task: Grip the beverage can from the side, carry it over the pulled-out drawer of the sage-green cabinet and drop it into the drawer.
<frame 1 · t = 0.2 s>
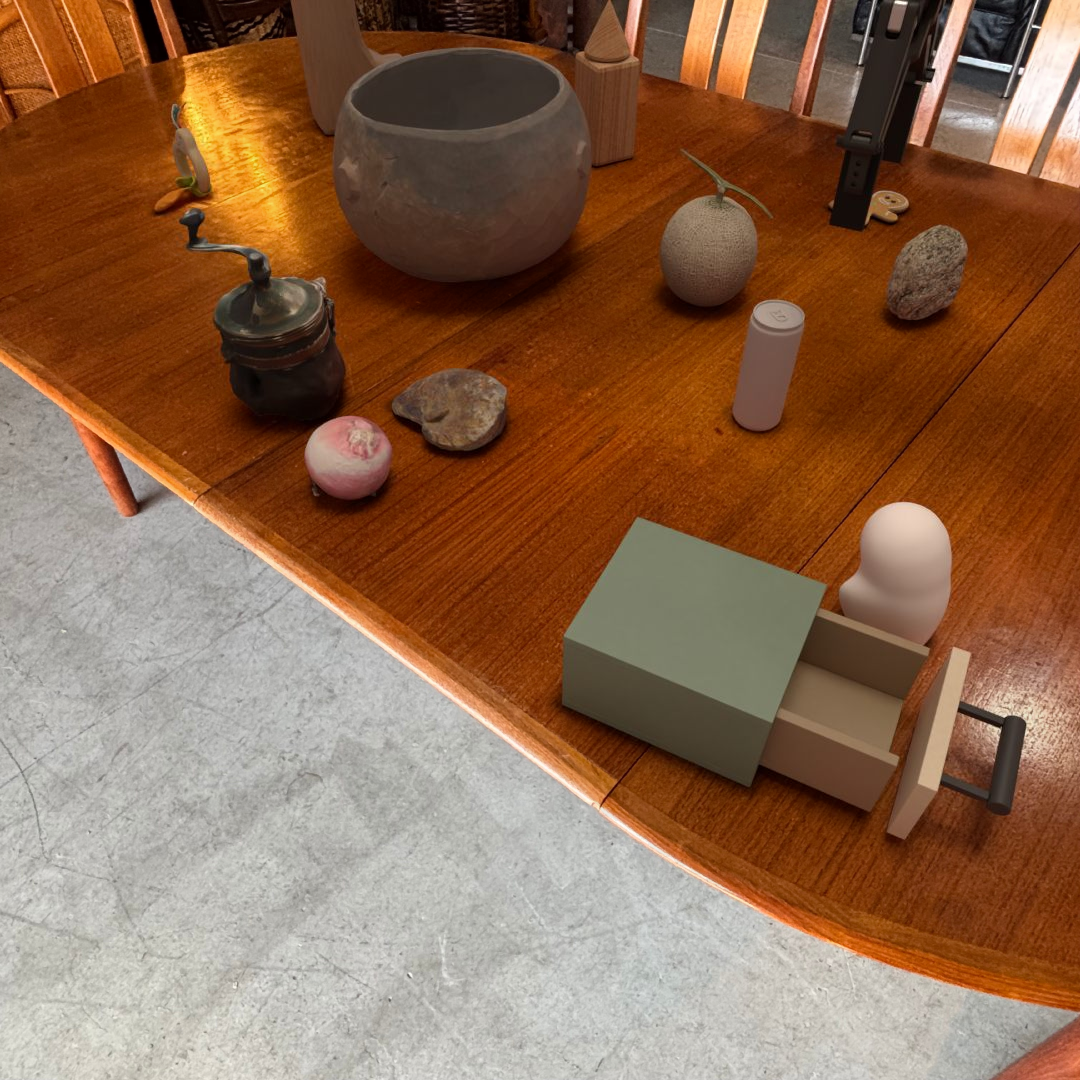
hand: (866, 191, 78), 21 cm above the table, tool pointing down, fingers open, 13 cm apart
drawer: (872, 718, 61), point 4 cm above the table, slide at 9.0 cm
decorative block: (366, 120, 137), on the table
rattle: (183, 198, 121), on the table
figurine: (880, 625, 72), on the table
beverage can: (755, 419, 89), on the table
cookie: (871, 210, 117), on the table
oyster shell: (449, 420, 89), on the table
onion: (353, 485, 83), on the table
stone: (914, 313, 101), on the table
clay pot: (471, 255, 111), on the table
fruit: (705, 299, 104), on the table
decorative item: (603, 155, 129), on the table
coffee grinder: (281, 399, 92), on the table
cabinet: (684, 679, 68), on the table
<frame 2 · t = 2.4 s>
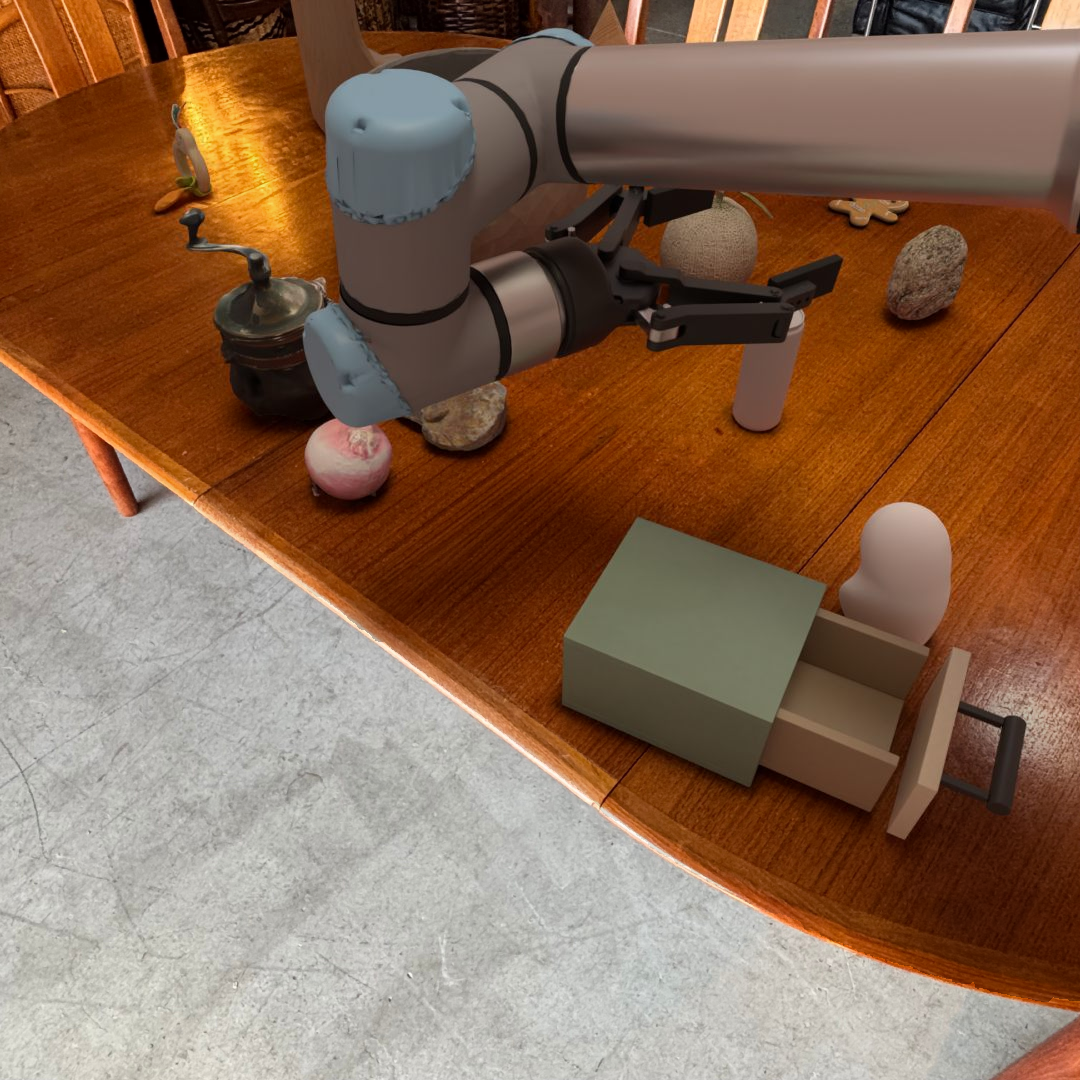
hand: (770, 229, 69), 23 cm above the table, tool horizontal, fingers open, 13 cm apart
nothing on the table moved.
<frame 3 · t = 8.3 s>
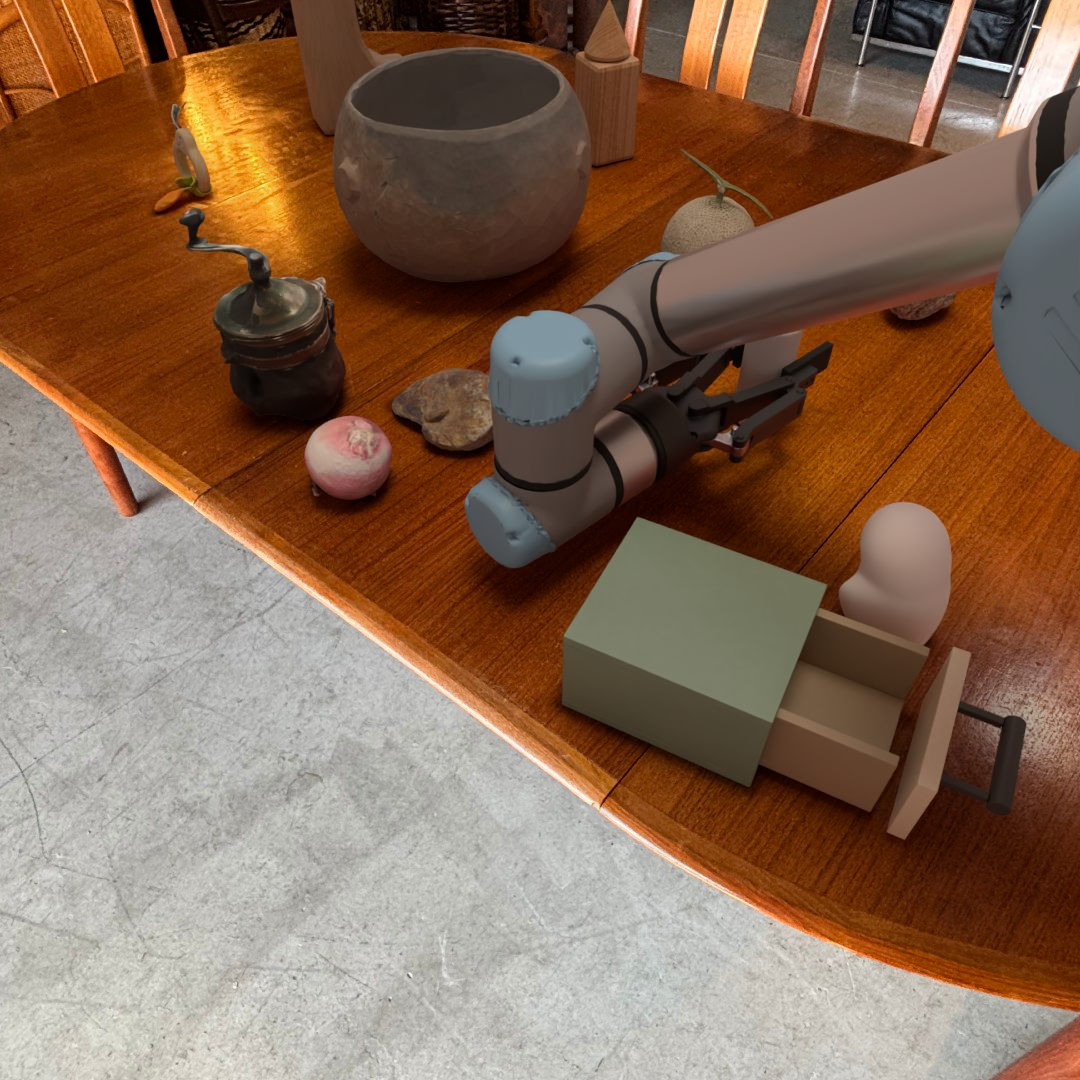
hand: (803, 341, 86), 7 cm above the table, tool horizontal, fingers closed on beverage can, 5 cm apart
beverage can: (755, 419, 89), on the table, touching gripper
everything else where it was.
when the fingers open (13 cm above the table, at t = 18.9 s): beverage can drops 4 cm, resting on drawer.
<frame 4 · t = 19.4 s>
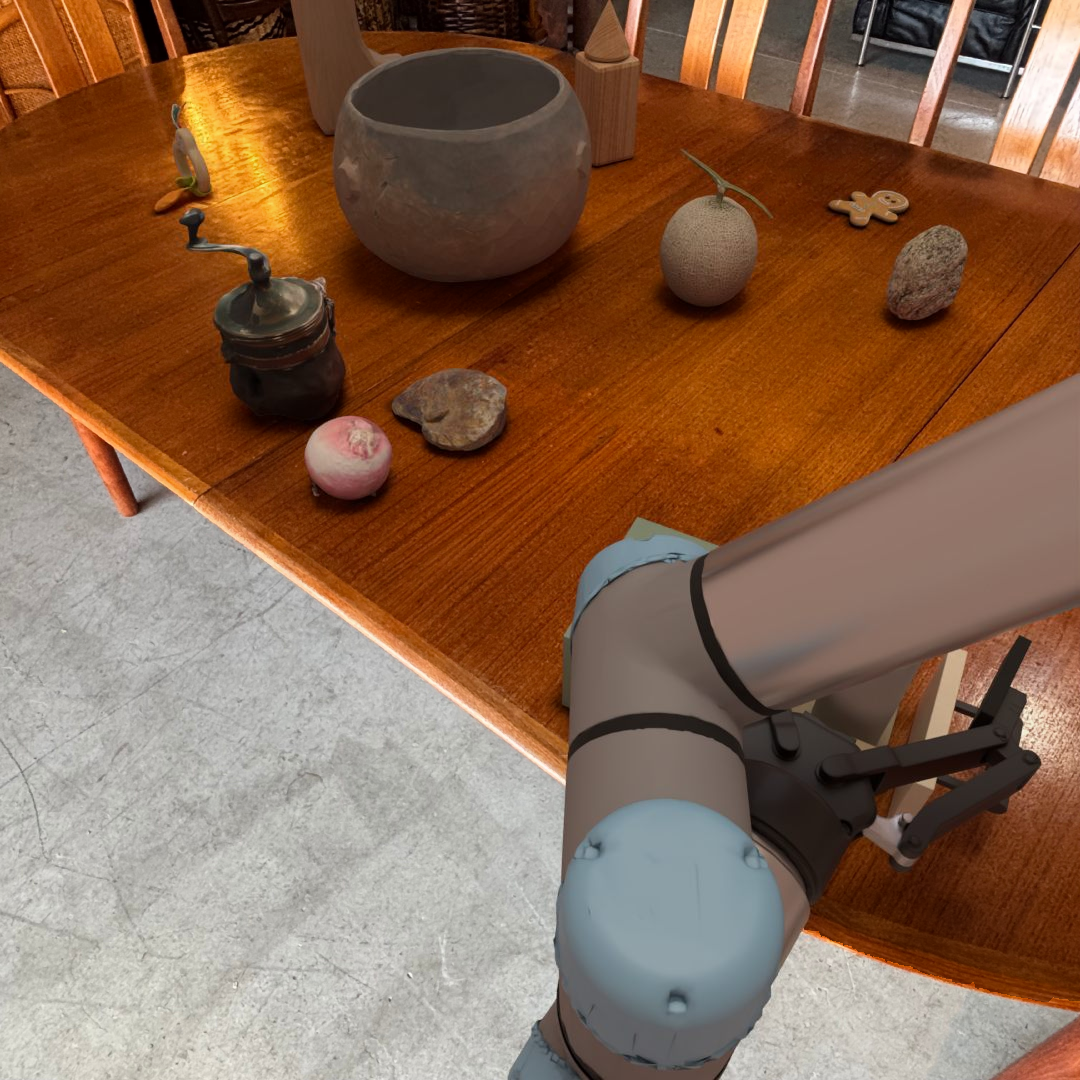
hand: (911, 598, 57), 13 cm above the table, tool horizontal, fingers open, 12 cm apart
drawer: (869, 717, 61), point 4 cm above the table, slide at 8.8 cm, touching beverage can
beverage can: (842, 729, 63), point 2 cm above the table, touching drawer
everything else where it was.
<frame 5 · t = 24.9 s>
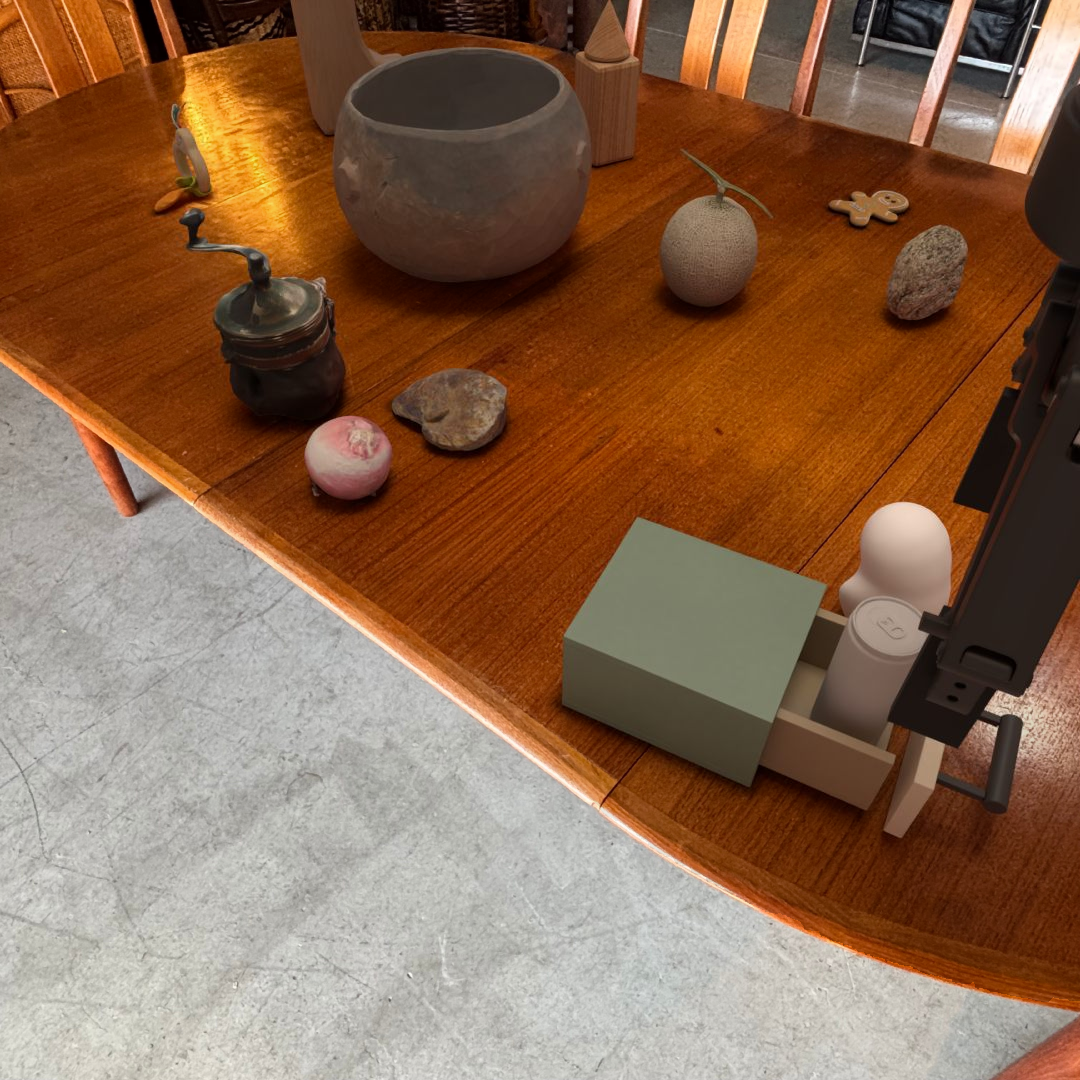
hand: (955, 606, 39), 27 cm above the table, tool pointing down, fingers open, 13 cm apart
nothing on the table moved.
at the end: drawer slide at 8.8 cm; beverage can inside the target area in the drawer (0.1 cm from its centre), point 1.8 cm above the cabinet's base; the gripper is holding nothing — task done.
